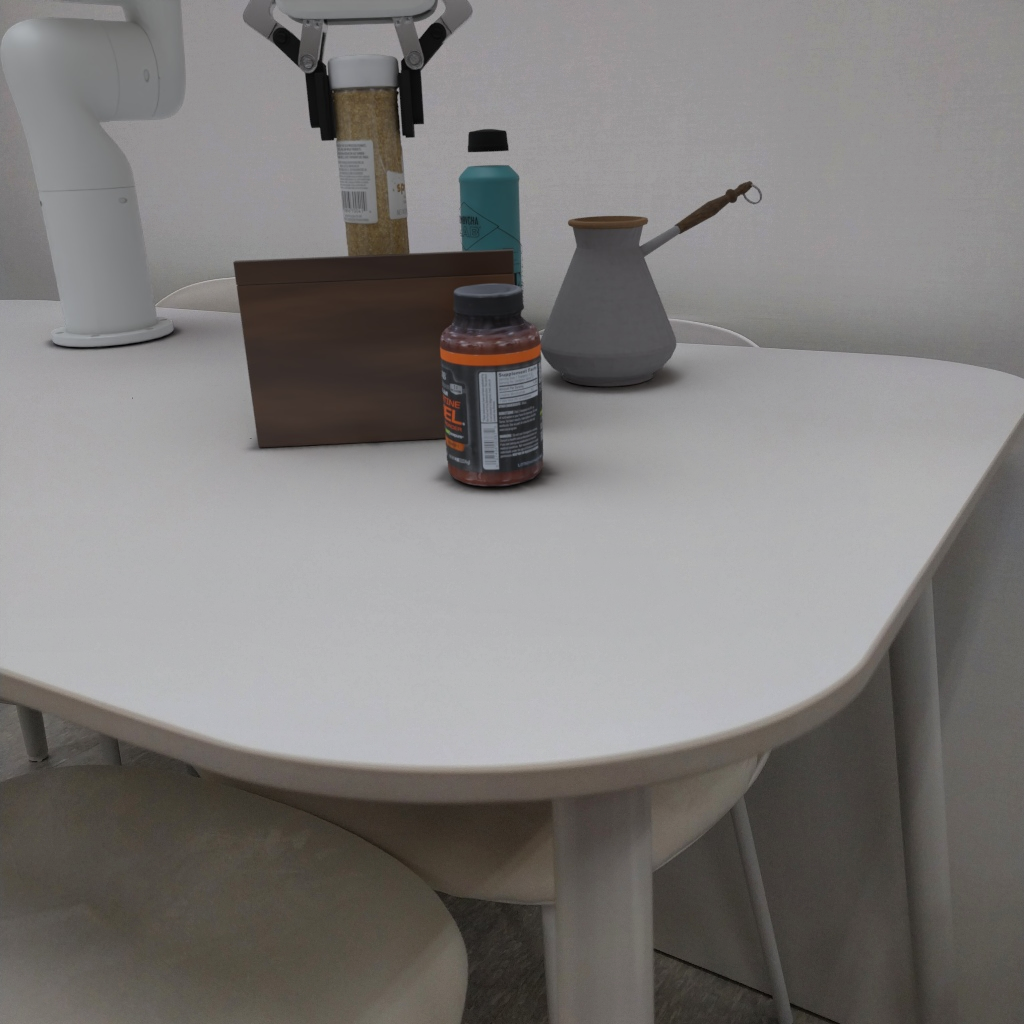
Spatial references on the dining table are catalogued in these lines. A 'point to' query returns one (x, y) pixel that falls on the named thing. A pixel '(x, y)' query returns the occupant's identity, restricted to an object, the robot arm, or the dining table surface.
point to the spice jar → (370, 153)
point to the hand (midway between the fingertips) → (368, 135)
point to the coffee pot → (615, 301)
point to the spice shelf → (353, 342)
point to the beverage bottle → (490, 201)
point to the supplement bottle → (492, 388)
